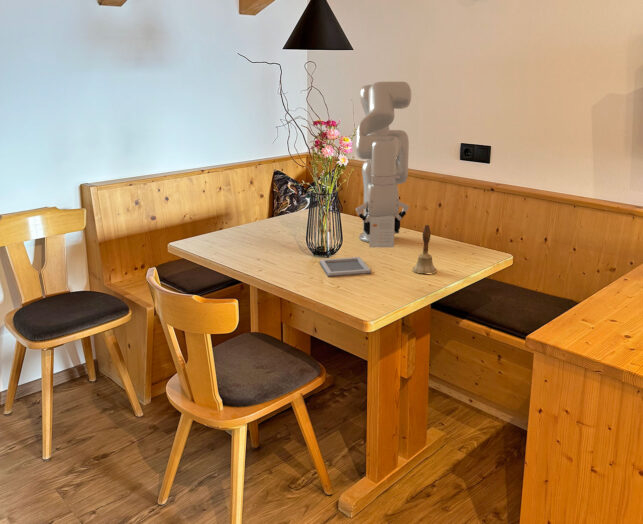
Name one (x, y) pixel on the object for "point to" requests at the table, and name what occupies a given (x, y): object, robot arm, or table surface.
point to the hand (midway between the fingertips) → (381, 232)
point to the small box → (381, 231)
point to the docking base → (344, 266)
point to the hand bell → (425, 255)
